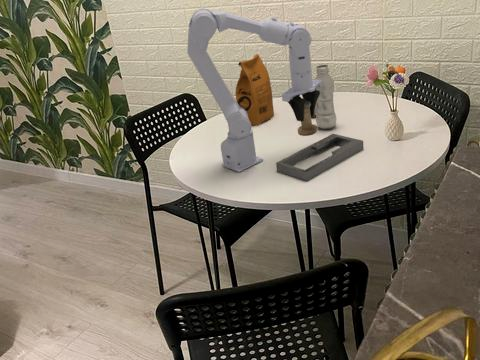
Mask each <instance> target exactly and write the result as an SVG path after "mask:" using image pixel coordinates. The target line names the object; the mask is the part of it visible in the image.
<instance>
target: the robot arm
mask: <svg viewBox="0 0 480 360" xmlns="http://www.w3.org/2000/svg"><path fill="white" fill-rule="evenodd" d="M229 29H231V30H235V31H236V30H237V31H241V32H244V33H245V32H246V33H251V34H255V35H258V37H259V39H260V40H261V41H262V42H267V43H272V44H275V45H278V46H288V52H289V55H288V59H289V68H290V70H289V71H290V80H291V81H290V82H291V88H289V89H288V90H287V91H285V92H284V93H281V101H282V102H287V104H289V106H290V107H291V109H292V111H293V114H294V117H295V119H296V121H297V122H300V123H301V122H302V121H304V104H305V101H310V102H311V106H310V113H311V117H313V116H314V111H315V105H316V102H317V99H318V97H319V95H320V91H319V90H316V88H318V87H319V88H320V87H323V85H322V80H313V74H312V73H313V72H312V60H311V53H310V51H311V50H310V45H311V44H312V37H311V34H310V32H309V30H308V29H306V28H305V27H303V26H302V25H299V24H296V23H294V22H291V21H289V23H288V22H287V23H286V22H284V21H279V20H278V18H277V17H274V16H271V17H270V18H268V17H267V18H265V19H264V20H262V21H258V20H255V19H251V18H248V17H245V16H243V15H242V16H241V15H238V14H234V13H231V12H228V11H222V10H216V9H211V10H209V9H208V8H198V9H196V10H195V11H194V12H193V14H191V18H190V20H189V23H188V32H187V50H186V51H187V56H188V58H189V59H190V61H191V62H192V64H193V65H194V67H195V68H196V71H197V72H198V73H199V75H200V76H201V78H202V81H203V82H204V84H205V85H206V87H207V88H208V91H210V93H211V96H212V97H213V98H214V100H215V102H216V103H217V105H218V107H219V108H220V110H221V112H222V114H223V116H224V118H225V120H226V123H227V126H228V132H227V137H226V138H225V139H224V140H223V141H222V142H221V143H220V151H221V158H222V164H221V165H222V167H224V168H226V169H227V168H228V169H230V170H232V171H235V172H237V173H239V172H240V173H241V172H242V171H243V172H244V170H247V169H248V168H251V167H252V166H254V165H257V164H258V163H261V162H263V161H264V158H262V157H259V156H257V152H256V145H255V139H254V131H253V129H252V125H251V123H250V121H249V119H248V114H247V112H246V111H245V110H244V109H243V108H241V107H240V106H239V105H238V103H237V100H236V98H234V96H233V94H232V93H231V91H230V89H229V88H228V86H227V84H226V82H225V81H224V79H223V77H222V75H221V74H220V71H219V70H218V69H217V67H216V65H215V64H214V63H215V62H213V60H212V59H211V57H210V55H209V53H208V52H207V50H208V46H209V43H210V40H211V39H212V38H213V37H214V35H215V33H216V31H217V30H218V33H222V32H223V31H226V30H229Z"/></svg>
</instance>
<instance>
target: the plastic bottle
mask: <svg viewBox="0 0 480 360" xmlns="http://www.w3.org/2000/svg"><path fill="white" fill-rule="evenodd" d="M315 69H316V71H315V72H316V76H315V78H314V80H322V85H323V87H320V88H319V87H318V88H316V90H319V91H320V95H319V97H318V99H317V102H316V103H317V115H316V118H315V123H316V126H317V128H320V129H322V130H329V129H332V128H334V127H335V126H336V124H337V115H336V112H335V111H336V110H335V106H334V104H335V103H334V86H335V81H334V79H333V78H332V75H330V74H329V72H330V70H329V65H327V64H320V65H317V66H316V68H315ZM314 80H313V81H314Z"/></svg>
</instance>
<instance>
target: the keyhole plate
mask: <svg viewBox="0 0 480 360" xmlns="http://www.w3.org/2000/svg"><path fill="white" fill-rule="evenodd" d="M332 144H333V145H335V146H339V147H338V148H336V149H334V150H333V151H331V155H330V156H327V157H326V158H323V160H321V161H319V162H317V163H315V164H313V165H311V166H310V167H308V168H306V169H304V168H303V169H302V168H300V167H297V166H295V165H297V164H299V163H300V161H301V162H303V161H304V160H306V159H308V158H310V157H312V156H313V154H314V155H316V154H318V153H319V151H320V152H322V151H323V150H325V149H327V148H329V147H331V146H333V145H332ZM330 145H331V146H330ZM364 149H365V148H364V140H362V139H357V138H354V137H348V136H345V135H341V134H337V133H336V134H335V133H332V134H330V135H328V136H325V137H323V138H322V139H320V140H318V141H315V142H314V143H312V144H310V145H308V146H306V147H304V148H302V149H300V150H298V151H296V152H294V153H293V154H290V155H289V156H286V157H285V158H283V159H280V160H279V161H277V162H276V163H275V165H276V166H275V167H276V172H277V171H278V173H280V172H281V174H283V175H287V176H289V177H292V178H294V179H295V178H296V179H298V180H301V181H303V182H308V181H310V180H311V179H314V178H316V177H317V176H319V175H320V174H322V173H324V172H326V171H327V170H330V169H331V168H333V167H335V166H337V165H338V164H340V163H341V162H343V161H345V160H347V159H348V158H350V157H352V156H354V155H356V154H358V153H360V152H362V151H363V150H364ZM317 152H318V153H317ZM315 153H316V154H315ZM311 155H312V156H311ZM302 160H303V161H302ZM298 162H299V163H298ZM296 163H297V164H296Z"/></svg>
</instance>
